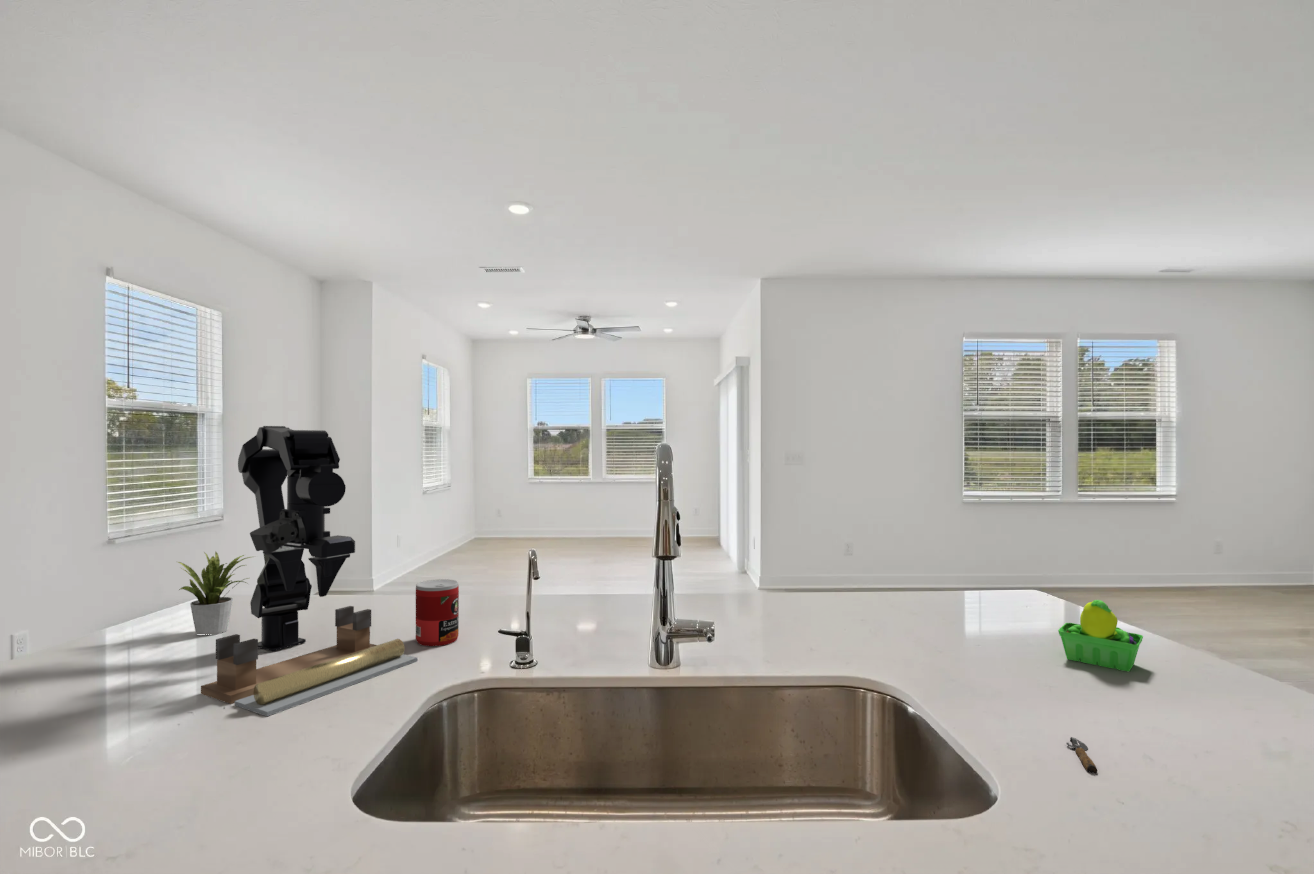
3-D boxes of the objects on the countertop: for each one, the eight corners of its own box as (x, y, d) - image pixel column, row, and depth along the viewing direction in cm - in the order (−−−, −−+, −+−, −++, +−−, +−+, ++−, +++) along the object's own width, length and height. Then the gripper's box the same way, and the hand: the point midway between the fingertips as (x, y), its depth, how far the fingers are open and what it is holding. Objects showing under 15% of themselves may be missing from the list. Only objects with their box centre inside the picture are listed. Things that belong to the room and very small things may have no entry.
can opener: (1098, 776, 74) (1097, 766, 74) (1074, 772, 75) (1073, 762, 75) (1085, 744, 82) (1085, 734, 82) (1063, 740, 83) (1063, 731, 83)
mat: (234, 705, 94) (234, 701, 94) (386, 653, 117) (386, 650, 117) (267, 716, 90) (267, 712, 90) (417, 660, 113) (417, 657, 113)
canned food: (446, 648, 120) (446, 588, 120) (406, 645, 122) (407, 586, 122) (466, 636, 128) (466, 579, 128) (429, 633, 129) (429, 578, 129)
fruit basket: (1144, 664, 111) (1143, 598, 111) (1136, 678, 105) (1136, 607, 105) (1066, 649, 119) (1066, 587, 119) (1055, 661, 112) (1054, 596, 112)
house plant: (272, 629, 132) (272, 549, 133) (195, 647, 121) (195, 559, 121) (237, 619, 140) (237, 543, 140) (161, 635, 128) (162, 552, 128)
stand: (230, 703, 95) (230, 648, 95) (200, 693, 98) (201, 640, 98) (382, 652, 117) (382, 608, 117) (353, 646, 121) (353, 603, 121)
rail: (263, 708, 92) (267, 690, 92) (251, 698, 94) (255, 679, 93) (402, 659, 113) (406, 643, 113) (391, 651, 115) (395, 635, 114)
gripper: (226, 504, 110) (225, 597, 109) (293, 509, 101) (293, 610, 100) (290, 499, 119) (290, 584, 119) (357, 503, 110) (357, 595, 110)
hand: (305, 593), depth 112 cm, fingers open, 9 cm apart
